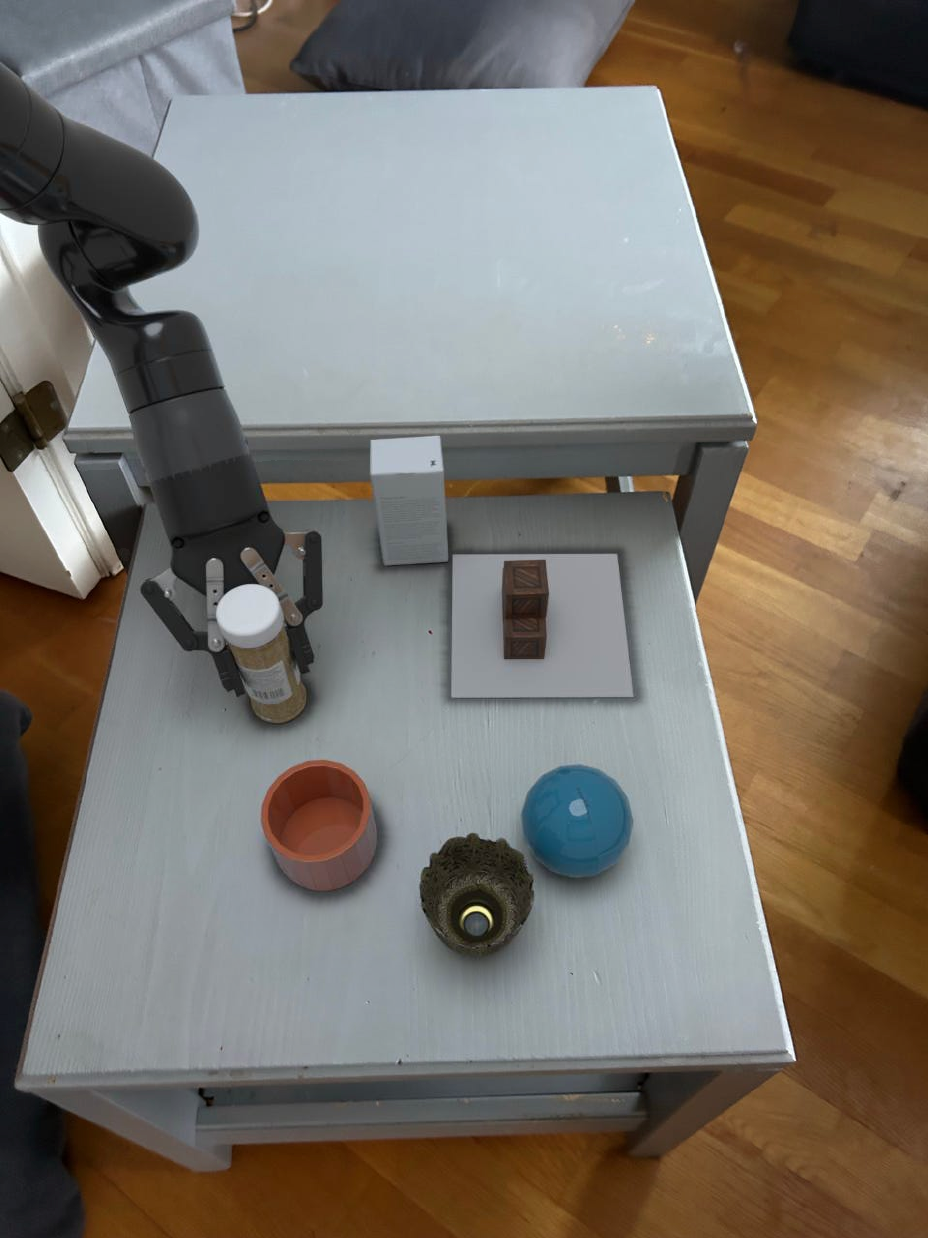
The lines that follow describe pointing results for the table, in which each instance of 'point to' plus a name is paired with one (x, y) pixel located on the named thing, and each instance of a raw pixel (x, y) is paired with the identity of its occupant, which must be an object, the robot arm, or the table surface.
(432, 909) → the cup
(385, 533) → the cosmetic box
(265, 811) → the pot
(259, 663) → the sprinkles bottle
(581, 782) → the ball
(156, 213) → the robot arm
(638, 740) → the table surface
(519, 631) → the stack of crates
